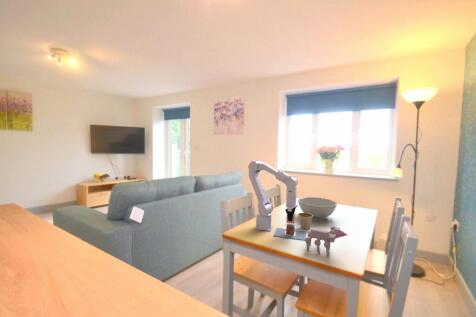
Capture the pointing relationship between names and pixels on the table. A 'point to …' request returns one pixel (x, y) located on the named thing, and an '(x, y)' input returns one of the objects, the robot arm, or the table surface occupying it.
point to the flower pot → (305, 220)
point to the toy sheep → (323, 238)
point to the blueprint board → (297, 235)
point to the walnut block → (290, 229)
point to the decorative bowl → (317, 207)
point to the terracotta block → (292, 220)
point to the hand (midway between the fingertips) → (290, 219)
